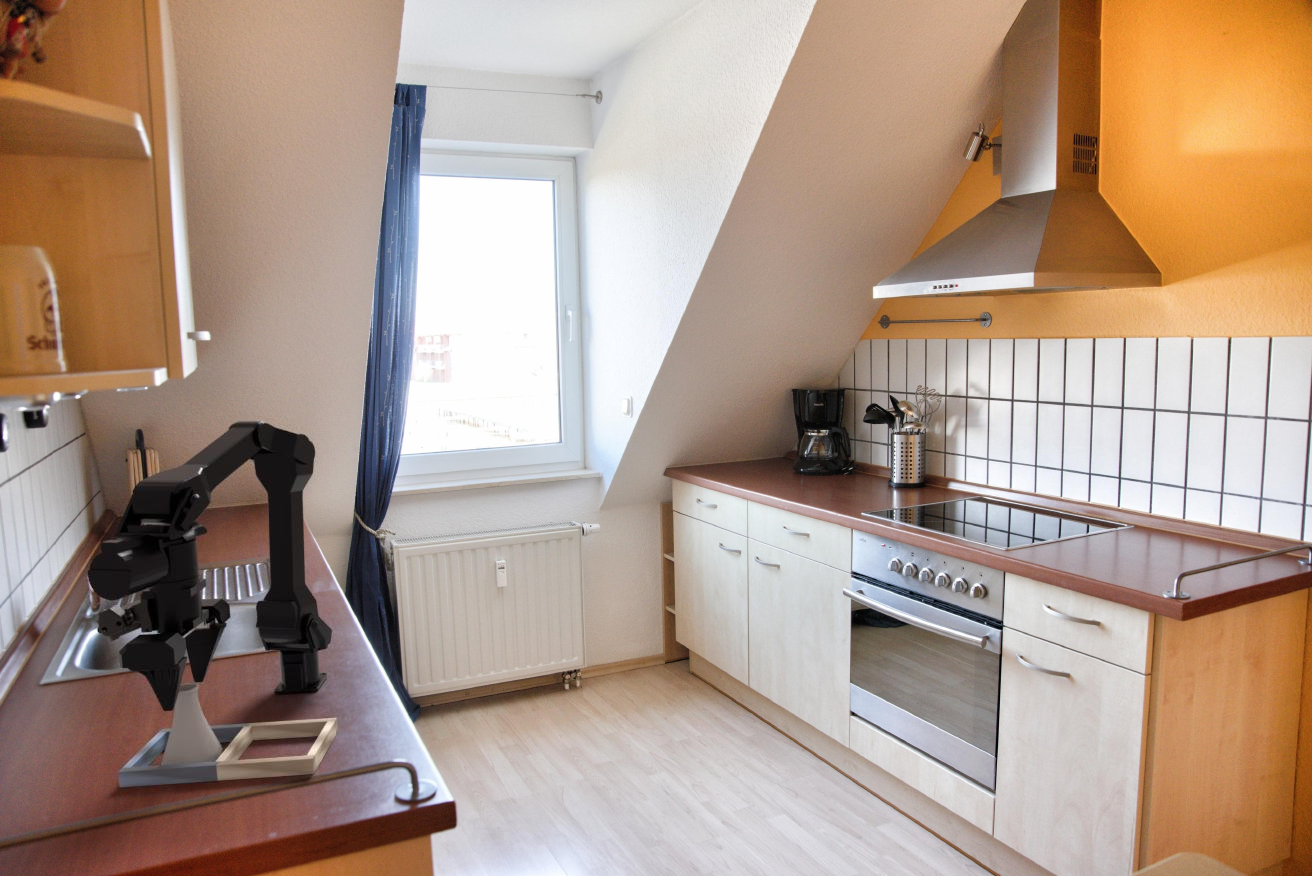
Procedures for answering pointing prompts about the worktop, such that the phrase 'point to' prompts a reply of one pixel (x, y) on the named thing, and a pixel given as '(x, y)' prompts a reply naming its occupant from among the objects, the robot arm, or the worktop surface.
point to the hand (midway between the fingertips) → (184, 695)
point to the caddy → (233, 754)
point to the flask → (190, 731)
